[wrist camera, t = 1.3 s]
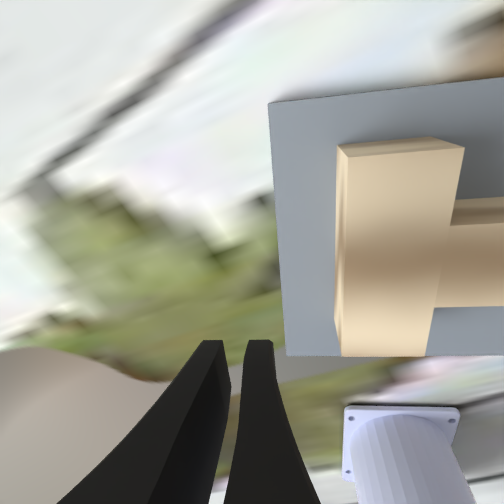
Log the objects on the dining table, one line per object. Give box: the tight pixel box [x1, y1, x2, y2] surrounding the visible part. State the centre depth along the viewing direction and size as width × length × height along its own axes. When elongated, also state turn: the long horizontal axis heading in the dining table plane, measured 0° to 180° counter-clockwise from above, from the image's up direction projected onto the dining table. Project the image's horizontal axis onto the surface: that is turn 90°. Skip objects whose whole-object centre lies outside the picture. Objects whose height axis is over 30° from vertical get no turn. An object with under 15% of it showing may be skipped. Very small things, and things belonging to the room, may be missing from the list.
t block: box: [334, 136, 504, 357], centre depth 14 cm, size 10×11×3 cm
